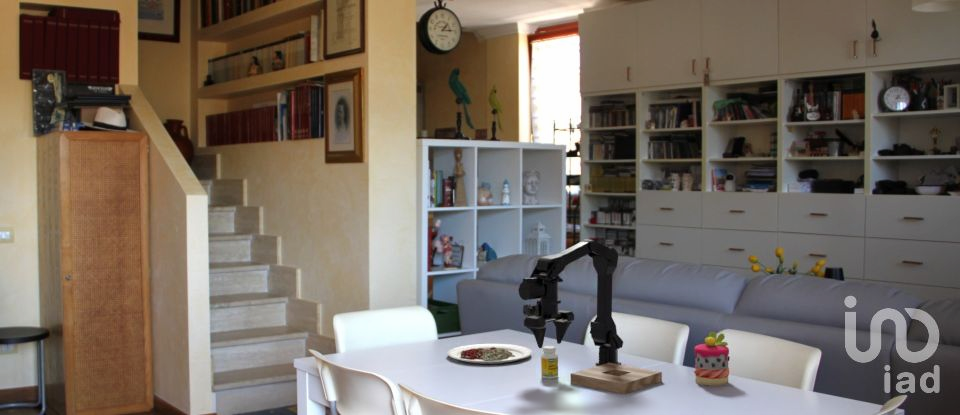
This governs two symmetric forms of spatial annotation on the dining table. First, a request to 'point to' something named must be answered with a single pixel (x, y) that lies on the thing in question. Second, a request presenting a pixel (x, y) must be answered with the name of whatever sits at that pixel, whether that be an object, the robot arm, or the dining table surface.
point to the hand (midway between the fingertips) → (549, 345)
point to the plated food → (489, 353)
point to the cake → (712, 361)
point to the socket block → (616, 377)
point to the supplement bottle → (549, 362)
